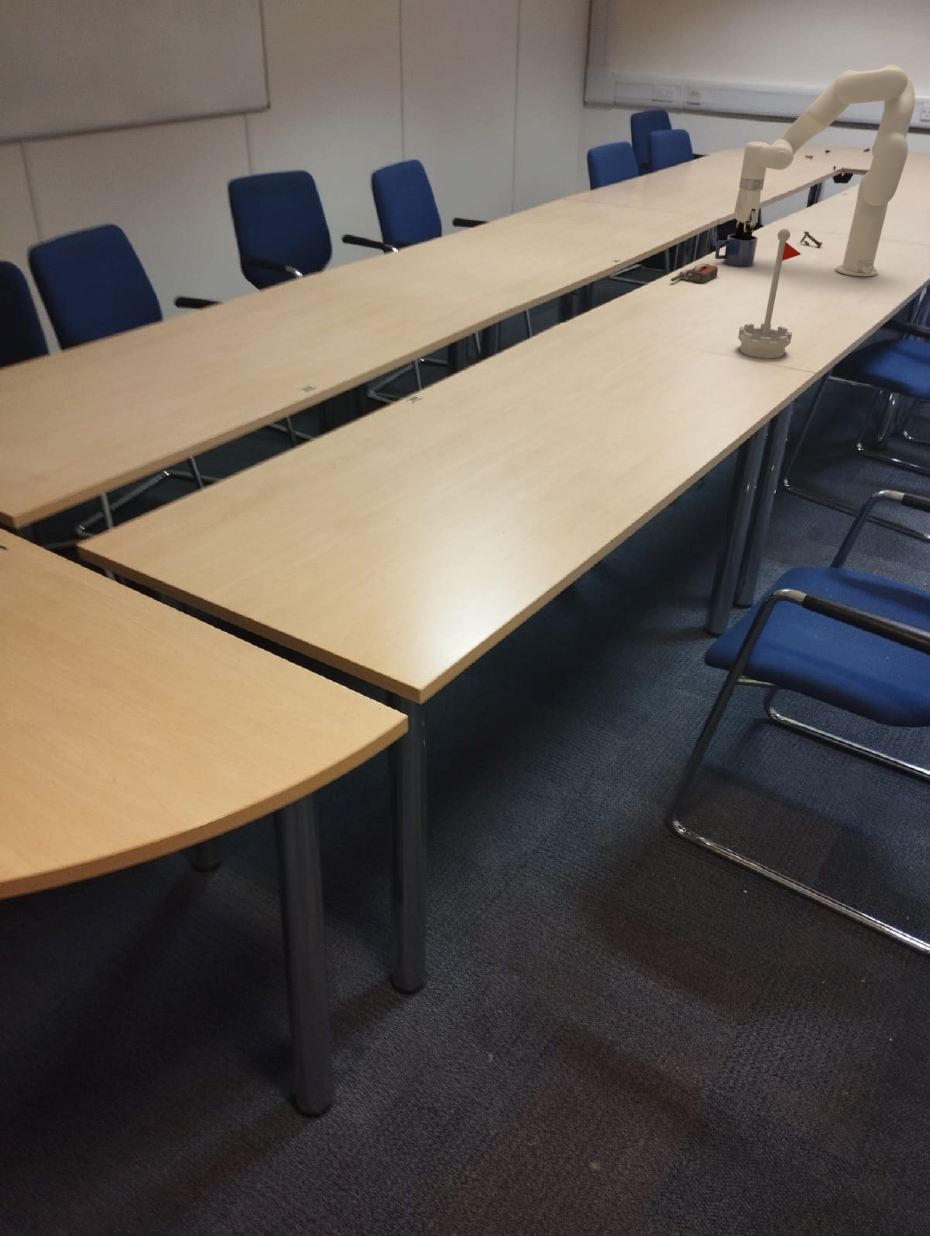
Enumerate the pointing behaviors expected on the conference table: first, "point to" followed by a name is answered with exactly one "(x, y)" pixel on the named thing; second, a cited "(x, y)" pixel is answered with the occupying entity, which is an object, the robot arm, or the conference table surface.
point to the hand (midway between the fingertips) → (742, 242)
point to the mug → (737, 251)
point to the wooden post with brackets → (810, 239)
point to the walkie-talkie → (698, 273)
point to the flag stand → (769, 315)
